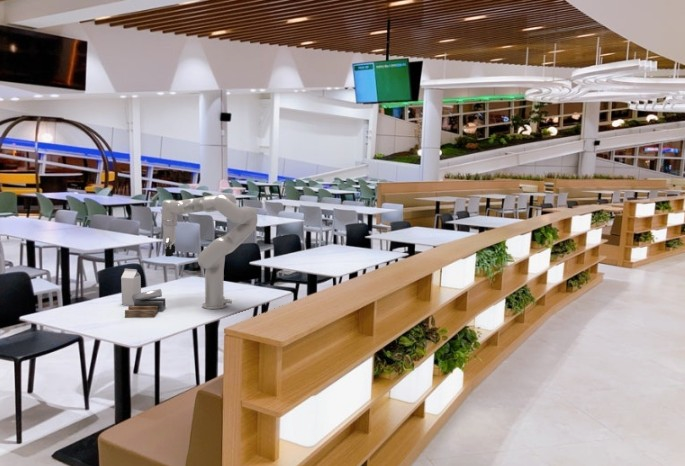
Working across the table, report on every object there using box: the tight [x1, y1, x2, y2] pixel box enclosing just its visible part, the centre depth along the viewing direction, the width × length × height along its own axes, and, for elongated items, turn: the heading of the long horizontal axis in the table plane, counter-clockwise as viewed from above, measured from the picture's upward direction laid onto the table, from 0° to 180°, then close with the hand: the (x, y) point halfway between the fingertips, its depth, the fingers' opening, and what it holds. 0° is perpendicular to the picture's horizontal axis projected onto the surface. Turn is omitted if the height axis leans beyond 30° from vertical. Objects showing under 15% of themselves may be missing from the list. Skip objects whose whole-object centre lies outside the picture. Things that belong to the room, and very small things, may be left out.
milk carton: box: [120, 268, 142, 307], centre depth 308 cm, size 7×7×19 cm
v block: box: [134, 297, 167, 313], centre depth 299 cm, size 14×8×5 cm, turn 96°
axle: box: [132, 288, 163, 302], centre depth 299 cm, size 14×4×4 cm, turn 95°
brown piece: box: [124, 305, 159, 318], centre depth 289 cm, size 14×8×4 cm, turn 96°
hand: (170, 254), depth 311 cm, fingers open, 9 cm apart
